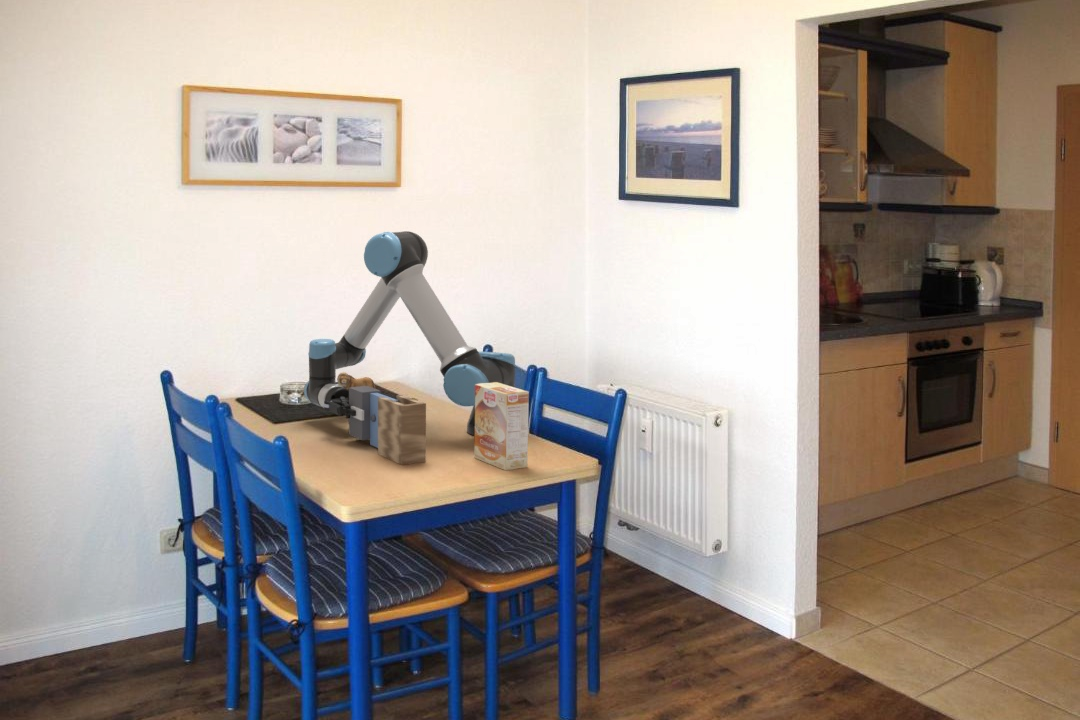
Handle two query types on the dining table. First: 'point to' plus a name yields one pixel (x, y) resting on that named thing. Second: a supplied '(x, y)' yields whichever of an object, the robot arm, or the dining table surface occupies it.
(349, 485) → the dining table surface
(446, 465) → the dining table surface
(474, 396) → the robot arm
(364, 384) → the lion figurine
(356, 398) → the block
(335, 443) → the dining table surface
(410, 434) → the box
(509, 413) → the coffeecake box
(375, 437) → the sliding door
